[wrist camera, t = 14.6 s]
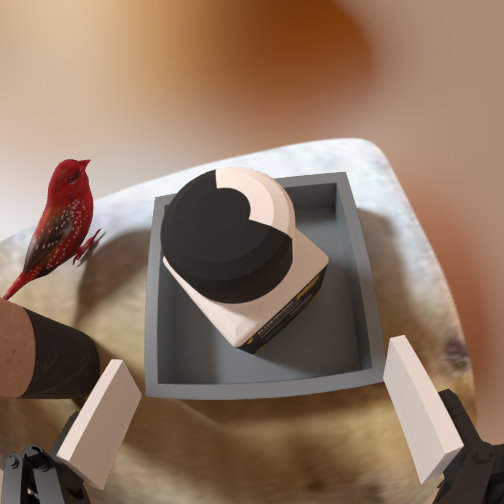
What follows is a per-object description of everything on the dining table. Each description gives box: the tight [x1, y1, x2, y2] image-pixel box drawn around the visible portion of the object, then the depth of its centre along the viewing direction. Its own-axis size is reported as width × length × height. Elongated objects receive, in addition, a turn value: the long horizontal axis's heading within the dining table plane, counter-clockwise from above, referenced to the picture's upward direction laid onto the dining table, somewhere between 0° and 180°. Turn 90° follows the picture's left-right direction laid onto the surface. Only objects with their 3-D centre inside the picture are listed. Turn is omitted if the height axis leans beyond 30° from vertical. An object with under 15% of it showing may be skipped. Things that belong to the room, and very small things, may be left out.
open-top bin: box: [145, 172, 386, 400], centre depth 21 cm, size 16×16×4 cm
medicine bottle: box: [160, 167, 329, 355], centre depth 17 cm, size 7×7×12 cm
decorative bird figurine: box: [3, 159, 101, 300], centre depth 23 cm, size 3×18×10 cm, turn 142°
